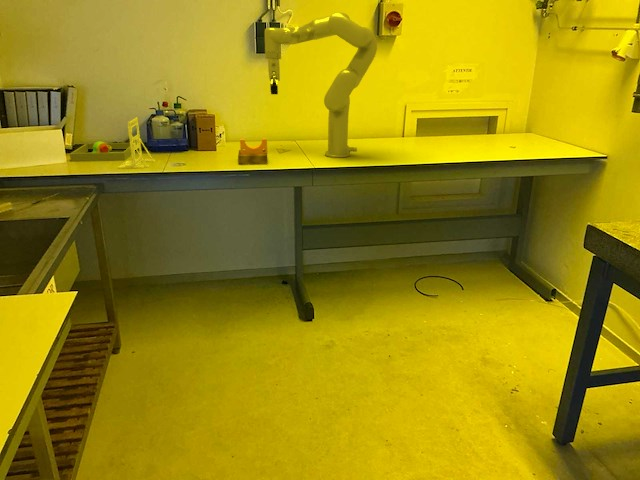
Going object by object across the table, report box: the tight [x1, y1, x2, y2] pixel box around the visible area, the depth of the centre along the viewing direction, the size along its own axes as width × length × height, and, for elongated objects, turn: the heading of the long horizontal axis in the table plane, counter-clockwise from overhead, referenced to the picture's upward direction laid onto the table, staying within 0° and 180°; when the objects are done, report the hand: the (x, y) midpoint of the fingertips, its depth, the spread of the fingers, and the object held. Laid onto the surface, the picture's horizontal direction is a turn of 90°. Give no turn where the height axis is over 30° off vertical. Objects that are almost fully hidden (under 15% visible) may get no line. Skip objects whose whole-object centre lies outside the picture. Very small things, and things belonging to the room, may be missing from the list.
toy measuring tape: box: [91, 140, 113, 153], centre depth 245 cm, size 6×19×7 cm, turn 151°
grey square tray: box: [69, 142, 132, 162], centre depth 248 cm, size 24×24×4 cm
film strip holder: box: [117, 117, 156, 169], centre depth 228 cm, size 14×14×20 cm
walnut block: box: [237, 149, 268, 166], centre depth 239 cm, size 13×13×4 cm
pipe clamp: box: [239, 137, 268, 154], centre depth 237 cm, size 12×4×6 cm, turn 101°
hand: (274, 93), depth 250 cm, fingers open, 9 cm apart
